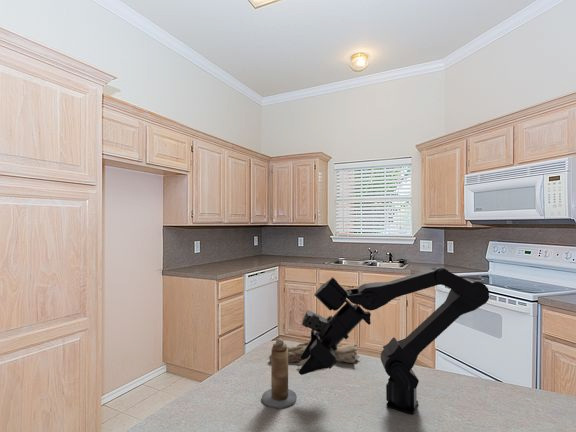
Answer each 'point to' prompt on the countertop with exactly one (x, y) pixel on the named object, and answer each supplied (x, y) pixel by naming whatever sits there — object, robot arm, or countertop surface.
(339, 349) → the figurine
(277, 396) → the pepper mill
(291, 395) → the coaster
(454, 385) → the countertop surface
